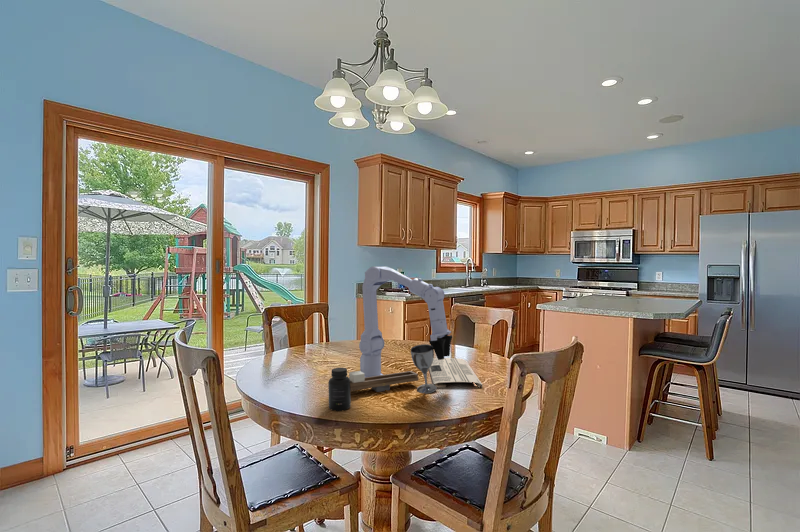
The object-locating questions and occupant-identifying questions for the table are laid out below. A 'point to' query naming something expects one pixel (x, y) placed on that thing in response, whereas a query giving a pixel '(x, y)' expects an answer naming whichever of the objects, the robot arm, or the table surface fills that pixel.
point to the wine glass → (423, 364)
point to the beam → (384, 381)
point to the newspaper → (452, 372)
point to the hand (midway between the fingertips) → (443, 357)
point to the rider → (356, 376)
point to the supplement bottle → (339, 390)
